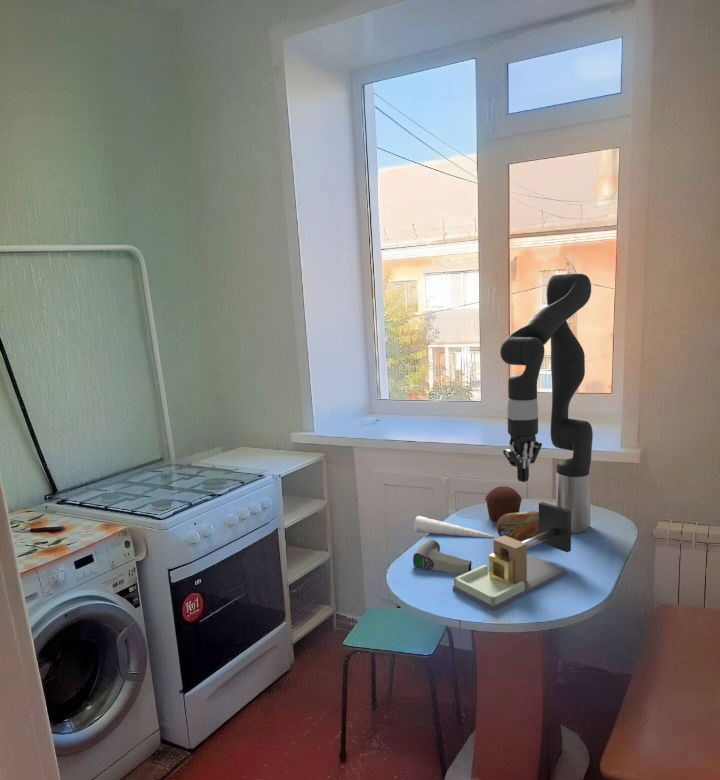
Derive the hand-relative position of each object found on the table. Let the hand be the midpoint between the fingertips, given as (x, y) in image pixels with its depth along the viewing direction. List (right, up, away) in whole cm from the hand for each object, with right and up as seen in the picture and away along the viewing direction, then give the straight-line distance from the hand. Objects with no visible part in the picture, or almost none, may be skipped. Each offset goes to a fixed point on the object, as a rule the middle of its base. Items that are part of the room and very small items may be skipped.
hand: (523, 480), depth 156 cm
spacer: (-7, -23, -7) cm, 26 cm away
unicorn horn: (-15, -20, +26) cm, 36 cm away
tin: (+5, -20, +19) cm, 28 cm away
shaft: (+2, -19, -1) cm, 19 cm away
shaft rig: (-5, -24, -5) cm, 25 cm away
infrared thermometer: (-19, -24, +7) cm, 31 cm away
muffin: (+3, -17, +35) cm, 40 cm away
